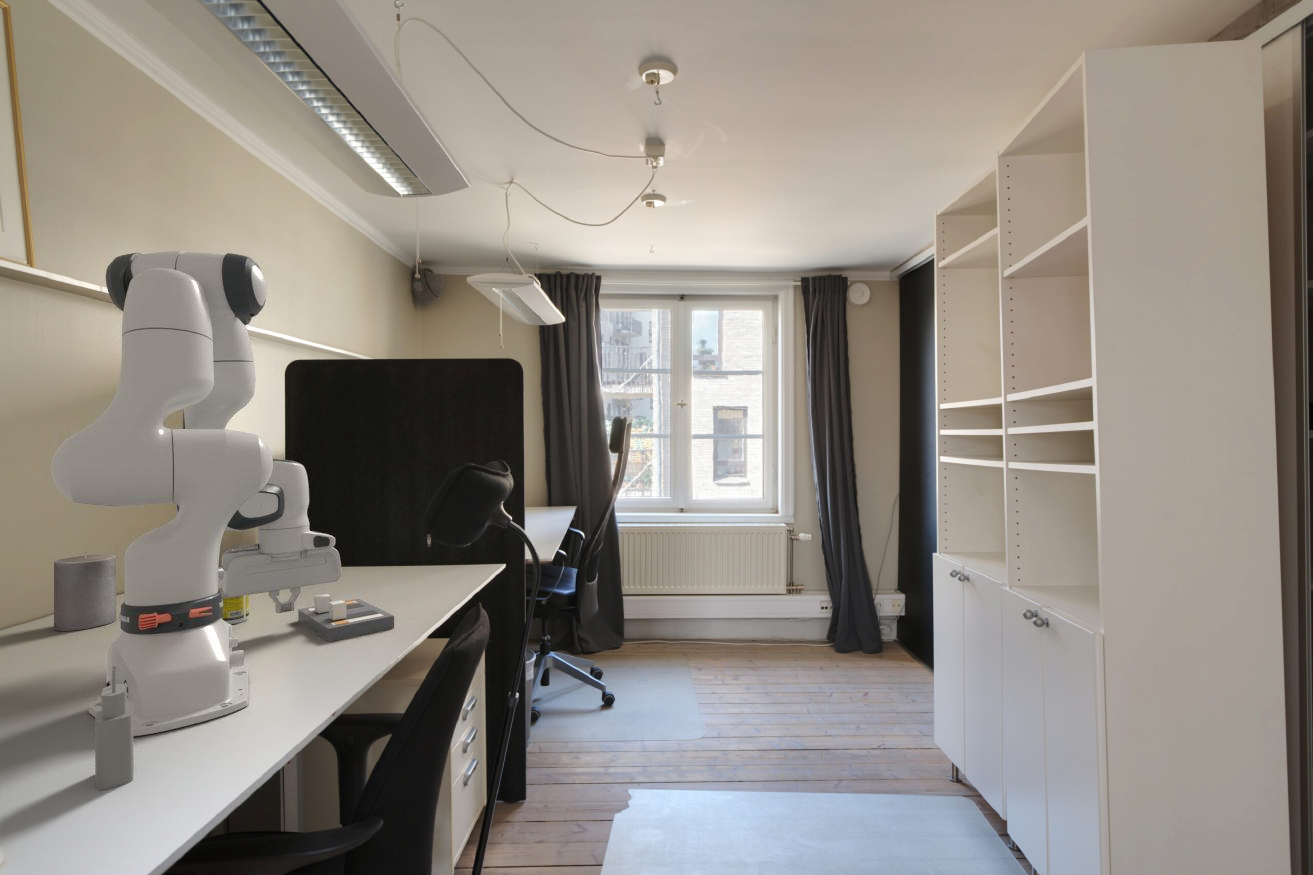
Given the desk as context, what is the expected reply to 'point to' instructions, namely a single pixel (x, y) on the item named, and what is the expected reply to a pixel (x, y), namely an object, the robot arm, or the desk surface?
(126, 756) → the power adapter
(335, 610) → the front slider
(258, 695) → the desk surface
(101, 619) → the pillar candle
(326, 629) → the switch housing
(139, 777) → the desk surface
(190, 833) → the desk surface
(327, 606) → the rear slider
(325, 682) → the desk surface
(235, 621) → the pill bottle
